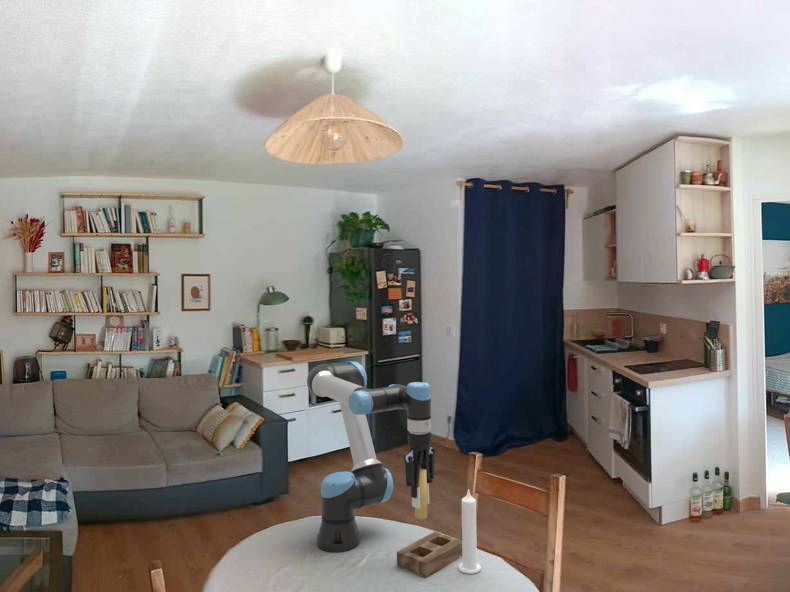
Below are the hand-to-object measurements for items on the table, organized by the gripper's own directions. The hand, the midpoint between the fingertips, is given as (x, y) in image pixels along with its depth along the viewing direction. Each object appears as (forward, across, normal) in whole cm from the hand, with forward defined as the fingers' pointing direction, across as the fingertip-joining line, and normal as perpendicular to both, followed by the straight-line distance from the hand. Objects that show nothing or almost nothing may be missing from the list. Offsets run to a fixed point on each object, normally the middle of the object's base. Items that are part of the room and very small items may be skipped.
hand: (420, 504), depth 182 cm
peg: (+4, 0, 0) cm, 4 cm away
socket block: (+19, +5, 0) cm, 20 cm away
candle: (+20, +8, -13) cm, 25 cm away
